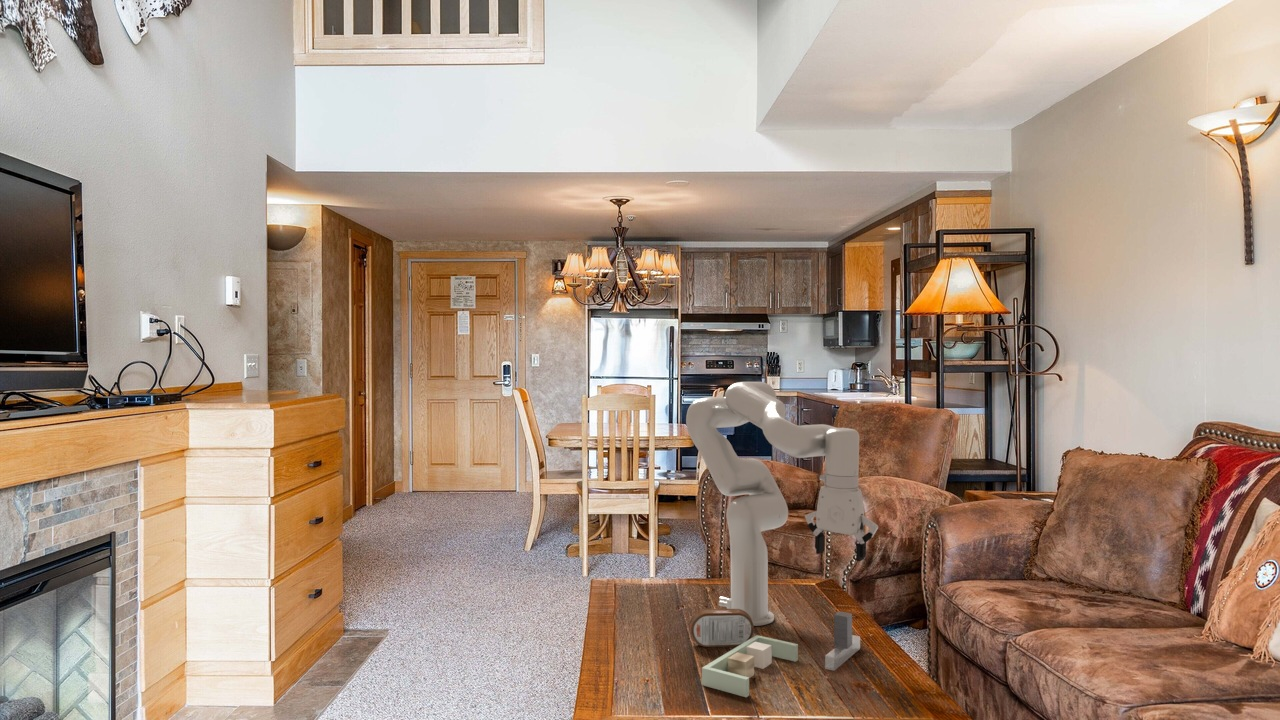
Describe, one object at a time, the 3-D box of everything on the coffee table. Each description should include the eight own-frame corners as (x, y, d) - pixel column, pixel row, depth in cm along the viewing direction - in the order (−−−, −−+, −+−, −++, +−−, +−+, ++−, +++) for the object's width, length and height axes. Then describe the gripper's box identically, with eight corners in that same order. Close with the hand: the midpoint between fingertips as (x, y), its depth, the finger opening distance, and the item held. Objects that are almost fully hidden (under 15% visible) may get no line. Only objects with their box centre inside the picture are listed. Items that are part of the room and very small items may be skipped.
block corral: (701, 685, 158) (701, 667, 158) (756, 650, 177) (756, 635, 177) (746, 697, 152) (746, 679, 152) (797, 660, 171) (797, 644, 171)
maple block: (728, 677, 162) (728, 657, 162) (737, 671, 165) (737, 652, 165) (745, 681, 160) (745, 662, 160) (754, 675, 163) (754, 656, 163)
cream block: (746, 665, 168) (746, 646, 168) (755, 659, 172) (755, 641, 172) (763, 669, 166) (763, 650, 166) (771, 663, 169) (771, 645, 169)
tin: (752, 642, 182) (752, 607, 182) (755, 647, 179) (755, 611, 179) (689, 644, 181) (688, 608, 181) (690, 649, 178) (690, 612, 178)
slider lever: (823, 668, 166) (822, 622, 166) (849, 647, 179) (849, 604, 180) (836, 672, 165) (836, 625, 165) (862, 649, 178) (862, 606, 178)
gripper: (799, 479, 180) (798, 553, 180) (871, 488, 169) (870, 566, 169) (813, 475, 185) (812, 546, 186) (884, 484, 175) (882, 559, 175)
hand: (839, 556), depth 177 cm, fingers open, 9 cm apart
